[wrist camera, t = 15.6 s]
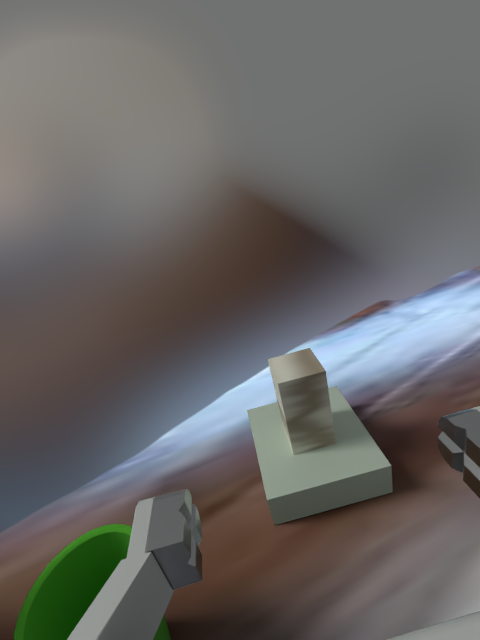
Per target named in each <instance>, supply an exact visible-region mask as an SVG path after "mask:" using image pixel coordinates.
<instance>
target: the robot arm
mask: <svg viewBox="0 0 480 640" xmlns="http://www.w3.org/2000/svg"><path fill="white" fill-rule="evenodd" d="M438 427H439V428H440V429H441V430H442V433H441V434H440V435H439V437H438V446H439V449H440V452H441V454H442V456H443V457H444V459H445V461H446V462H447V463H448V464H449V465H450V466H451V467H452V468H453V469H455V470H457V471H460V472H462V473H463V481H464V482H465V483H466V484H467V485H468V486H469V487H470V488H471V489H472V490H473V492H474V493H475V494H476V495H477V496H478V497H479V498H480V406H479V407H475V408H472V409H467V410H464V411H461V412H457V413H454V414H450V415H447V416H444V417H441V418H440V420H439V425H438ZM191 497H192V496H191V494H190V492H189V490H188V489H185V490H181V491H177V492H173V493H169V494H165V495H161V496H157V497H153V498H149V499H146V500H142V501H139V502H138V504H137V506H136V510H135V516H134V521H133V526H132V532H131V537H130V542H129V548H128V553H127V558H126V559H123V560H121V561H120V563H119V564H118V566H117V567H116V569H115V570H114V572H113V573H112V575H111V576H110V578H109V579H108V580H107V582H106V583H105V585H104V586H103V588H102V589H101V591H100V592H99V594H98V595H97V596H96V598H95V599H94V601H93V602H92V604H91V605H90V607H89V608H88V610H87V611H86V613H85V614H84V615H83V617H82V618H81V620H80V621H79V623H78V624H77V626H76V627H75V629H74V630H73V632H72V633H71V634H70V636H69V637H68V639H67V640H153V638H154V636H155V634H156V631H157V629H158V627H159V624H160V622H161V620H162V618H163V615H164V613H165V611H166V608H167V606H168V604H169V602H170V599H171V597H172V595H173V590H174V589H177V588H180V587H184V586H187V585H190V584H193V583H196V582H199V581H202V554H201V552H200V550H199V547H198V545H199V543H200V541H201V540H202V535H201V523H200V517H199V514H198V510H197V508H196V506H195V505H193V504H191ZM385 640H480V611H479V612H476V613H472V614H469V615H466V616H462V617H459V618H456V619H452V620H449V621H446V622H442V623H439V624H436V625H432V626H429V627H425V628H422V629H419V630H415V631H412V632H409V633H405V634H402V635H399V636H395V637H392V638H389V639H385Z"/></svg>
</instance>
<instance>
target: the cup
mask: <svg viewBox="0 0 480 640" xmlns="http://www.w3.org/2000/svg"><path fill="white" fill-rule="evenodd" d="M131 532H132V527H131V526H128V525H121V524H112V525H105V526H102V527H99V528H96V529H94V530H91V531H89V532H88V533H86V534H84V535H82V536H81V537H79V538H77V539H76V540H75V541H73V542H72V543H71V544H69V545H68V546H67V547H65V548H64V549H63V550H62V551H61V552H60V553H59V554H58V555H57V556H56V557H55V558H54V559H53V560H52V561H51V562H50V563H49V564H48V566H47V567H46V568H45V570H44V571H43V572H42V573H41V575H40V576H39V577H38V579H37V580H36V582H35V583H34V585H33V587H32V588H31V590H30V592H29V593H28V595H27V597H26V599H25V602H24V604H23V606H22V608H21V611H20V613H19V616H18V620H17V624H16V628H15V631H14V640H67V639H68V637H69V636H70V634H71V633H72V632H73V630H74V629H75V627H76V626H77V624H78V623H79V621H80V620H81V618H82V617H83V615H84V614H85V613H86V611H87V610H88V608H89V607H90V605H91V604H92V602H93V601H94V599H95V598H96V596H97V595H98V594H99V592H100V591H101V589H102V588H103V586H104V585H105V583H106V582H107V580H108V579H109V578H110V576H111V575H112V573H113V572H114V570H115V569H116V567H117V566H118V564H119V563H120V561H121V560H123V559H126V558H127V553H128V548H129V542H130V537H131ZM153 640H171V637H170V633H169V630H168V626H167V623H166V619H165V616H164V615H163V618H162V620H161V622H160V624H159V627H158V629H157V631H156V634H155V636H154V638H153Z"/></svg>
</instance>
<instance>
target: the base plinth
mask: <svg viewBox="0 0 480 640" xmlns="http://www.w3.org/2000/svg"><path fill="white" fill-rule="evenodd" d="M328 392H329V398H330V405H331V412H332V419H333V426H334V433H335V440H336V444H333V445H329V446H325V447H322V448H318V449H314V450H311V451H307V452H303V453H300V454H296V455H293V452H292V449H291V446H290V443H289V441H288V438H287V435H286V432H285V429H284V427H283V423H282V419H281V414H280V410H279V406H278V402H277V403H273V404H269V405H266V406H262V407H258V408H254V409H251V410H247V411H248V416H249V420H250V425H251V429H252V434H253V438H254V443H255V447H256V452H257V456H258V461H259V465H260V470H261V474H262V479H263V483H264V488H265V492H266V497H267V501H268V505H269V508H270V511H271V515H272V518H273V522H274V525H277V524H281V523H284V522H288V521H291V520H295V519H299V518H302V517H306V516H309V515H313V514H316V513H320V512H324V511H327V510H331V509H334V508H338V507H342V506H345V505H349V504H352V503H356V502H359V501H363V500H367V499H370V498H374V497H377V496H381V495H384V494H388V493H392V492H393V488H392V469H391V464H390V463H389V462H388V460H387V459H386V457H385V456H384V454H383V453H382V451H381V450H380V449H379V447H378V446H377V444H376V443H375V441H374V440H373V438H372V437H371V436H370V434H369V433H368V431H367V430H366V428H365V427H364V425H363V424H362V423H361V421H360V420H359V418H358V417H357V415H356V414H355V412H354V411H353V410H352V408H351V407H350V405H349V404H348V402H347V401H346V399H345V398H344V397H343V395H342V394H341V392H340V391H339V389H338V388H337V386H336V387H332V388H328Z"/></svg>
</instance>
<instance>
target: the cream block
mask: <svg viewBox="0 0 480 640" xmlns="http://www.w3.org/2000/svg"><path fill="white" fill-rule="evenodd" d="M268 362H269V366H270V371H271V375H272V379H273V384H274V388H275V393H276V397H277V401H278V406H279V410H280V414H281V419H282V423H283V427H284V429H285V432H286V435H287V438H288V441H289V443H290V446H291V449H292V452H293V455H296V454H300V453H303V452H307V451H311V450H314V449H318V448H322V447H325V446H329V445H333V444H336V440H335V433H334V426H333V419H332V412H331V405H330V398H329V392H328V385H327V378H326V371H325V370H324V368H323V367H322V365H321V364H320V362H319V361H318V359H317V358H316V356H315V355H314V354H313V352H312V351H311V349H310V348H308V349H304V350H300V351H297V352H293V353H289V354H286V355H282V356H278V357H275V358H271V359H268Z"/></svg>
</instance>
